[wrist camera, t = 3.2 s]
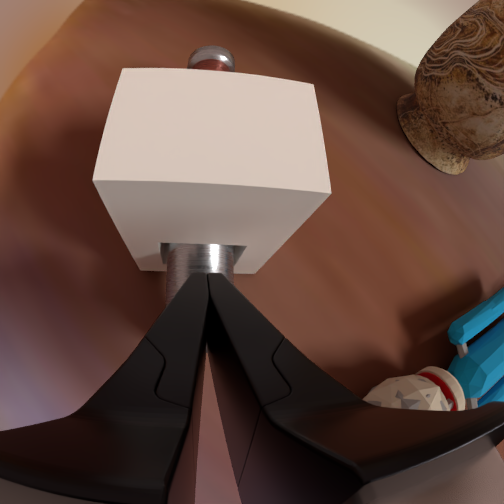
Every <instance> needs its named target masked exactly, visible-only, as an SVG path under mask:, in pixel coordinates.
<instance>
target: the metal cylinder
mask: <svg viewBox="0 0 504 504" xmlns="http://www.w3.org/2000/svg"><path fill="white" fill-rule="evenodd" d="M187 69H198V70H212V71H224V72H234V73H235V60H234V57H233V55H232V54H231V53H230V52H229V51H228V50H226V49H225V48H222V47H219V46H204V47H201V48H199V49H197V50H195V51H194V52H193V53H192V54H191V55H190V57H189V60H188V66H187ZM192 272H204V273H206V274H208V273H222V274H223V275H224V276H225V277H226V278H227V279H228V280H229V281H230V282H231V283H232V284H233V285H234V265H233V245H215V244H188V243H168V254H167V276H166V306H167V305H168V304H169V302H170V301H171V300H172V298H173V297H174V296H175V294H176V293H177V291H178V290H179V289H180V287H181V286H182V285H183V283H184V282H185V281H186V280H187V278H188V277H189V276H190V274H191V273H192ZM206 353H208V351H207V347H206Z"/></svg>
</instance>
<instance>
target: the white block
mask: <svg viewBox="0 0 504 504" xmlns="http://www.w3.org/2000/svg"><path fill="white" fill-rule="evenodd" d="M93 183H94V185H95V187H96V189H97V191H98V193H99V195H100V197H101V199H102V201H103V203H104V205H105V207H106V209H107V211H108V213H109V214H110V216H111V218H112V220H113V222H114V224H115V226H116V228H117V230H118V231H119V233H120V235H121V237H122V239H123V241H124V242H125V244H126V246H127V248H128V250H129V252H130V253H131V255H132V257H133V259H134V260H135V262H136V264H137V266H138V267H139V269H140V270H142V271H167V254H168V243H188V244H215V245H233V265H234V273H237V274H255V273H256V272H257V271H258V270H259V269H260V268H261V267H262V266H263V265H264V264H265V263H266V261H267V260H268V259H269V258H270V257H271V256H272V255H273V254H274V253H275V252H276V251H277V250H278V249H279V248H280V247H281V246H282V245H283V244H284V243H285V242H286V241H287V240H288V239H289V238H290V236H291V235H292V234H293V233H294V232H295V231H296V230H297V229H298V228H299V227H300V226H301V225H302V224H303V223H304V222H305V221H306V220H307V219H308V218H309V217H310V215H311V214H312V213H313V212H314V211H315V210H316V209H317V208H318V207H319V206H320V205H321V204H322V203H323V202H324V201H325V200H326V199H327V198H328V196H329V195H330V194H331V187H330V179H329V172H328V165H327V159H326V152H325V146H324V140H323V134H322V128H321V122H320V116H319V111H318V105H317V100H316V95H315V90H314V84H309V83H304V82H298V81H292V80H286V79H280V78H274V77H267V76H260V75H252V74H244V73H234V72H224V71H212V70H198V69H176V68H123V70H122V72H121V75H120V78H119V81H118V84H117V87H116V91H115V94H114V97H113V100H112V104H111V107H110V110H109V114H108V117H107V121H106V125H105V128H104V132H103V136H102V140H101V144H100V148H99V152H98V157H97V161H96V166H95V170H94V175H93Z"/></svg>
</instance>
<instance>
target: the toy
mask: <svg viewBox="0 0 504 504" xmlns="http://www.w3.org/2000/svg"><path fill="white" fill-rule="evenodd" d="M502 313H504V287H503V288H502V289H501V290H499V291H498V292H497V293H496V294H494V295H493V296H492V297H491V298H489V299H488V300H487V301H483V302H482V303H481V304H479V305H478V306H476V307H475V308H473V309H472V310H470V311H469V312H467V313H466V314H464V315H463V316H461V317H460V318H458V319H457V320H455V321H454V322H452V323H451V325H450V327H449V329H448V331H447V333H448V338H449V341H450V342H451V343H452V344H454V345H456V347H457V350H458V354H457V355H456V356H455V357H454V358H453V360H452V362H451V364H450V366H449V368H448V370H447V371H446V370H444V369H441V368H438V367H434V366H429V367H426V368H424V369H422V370H420V371H419V372H417V373H416V374H415V375H414V374H413V375H407V376H401V377H394V378H388V379H386V380H385V381H383V382H382V383H381V384H379V385H377V386H375V387H373V388H372V389H371V390H370V392H369V393H368V395H366V396H365V397H364V398H363V400H365V401H366V402H368V403H371V404H373V405H377V406H381V407H389V408H401V409H416V410H436V411H460V410H465V399H467V407H468V410H469V409H474V408H477V407H480V406H482V405H485V404H487V403H489V402H492V401H503V402H504V376H503V375H504V318H503V319H502V320H501V321H499V322H498V323H497V324H496V325H495V326H493V327H492V328H491V329H490V330H489V331H487V332H486V333H485V334H484V335H482V336H481V337H480V338H478V339H477V340H476V341H475V342H473V343H472V344H471V345H469V346H468V347H467V345H466V342H467V341H468V340H470V339H471V338H472V337H474V336H475V335H476V334H477V333H479V332H480V331H481V330H483V329H484V328H485V327H487V326H488V325H489V324H490V323H492V322H493V321H494V320H495V319H497V317H499V316H500V315H501V314H502ZM502 376H503V377H502ZM501 377H502V378H501ZM500 378H501V379H500ZM499 379H500V380H499ZM498 380H499V381H498ZM497 381H498V382H497ZM496 382H497V383H496ZM495 383H496V384H495ZM494 384H495V385H494ZM493 385H494V386H493ZM492 386H493V387H492ZM491 387H492V388H491ZM490 388H491V389H490ZM489 389H490V390H489ZM488 390H489V391H488ZM486 391H488V392H487V393H486V394H485V395H484V396H483V397H482V398H481V399H479V400H478V401H477V398H479V397H481V396H482V395H483V394H484V393H485V392H486Z"/></svg>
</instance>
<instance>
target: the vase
mask: <svg viewBox="0 0 504 504" xmlns="http://www.w3.org/2000/svg"><path fill="white" fill-rule="evenodd" d="M414 88H415V92H414V93H410V94H405V95H403V96H401V97H400V98H399V99H398V102H397V107H396V108H397V114H398V119H399V122H400V124H401V127H402V129H403V131H404V132H405V134H406V136H407V137H408V139H409V140H410V142H411V144H412V145H413V146H414V147H415V148H416V150H417V151H418V152H419V153H420V154H421V155H422V156H423V157H424V158H425V159H426V160H427V161H428V162H430V163H431V164H433V165H434V166H435V167H436V168H438V169H439V170H441V171H443V172H445V173H448V174H455V175H457V174H460V173H462V172H464V171H465V169H466V167H467V165H468V163H469V160H470V158H472V159H477V160H487V159H492V158H495V157H497V156H499V155H502V154H504V0H479V1H478V2H477V3H476V4H475V5H473V6H472V7H471V8H470V9H468V10H467V11H466V12H465V13H464V14H463V15H461V16H460V17H459V18H458V19H457V20H456V21H455V22H453V23H452V24H451V25H450V26H449V27H448V28H447V29H446V30H445V31H444V32H443V33H442V35H441V36H440V37H439V38H438V39H437V41H435V43H434V44H433V45H432V46H431V48H430V49H429V50H428V51H427V53H426V54H425V55H424V57H423V59H422V60H421V62H420V64H419V66H418V68H417V70H416V74H415V83H414Z"/></svg>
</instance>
